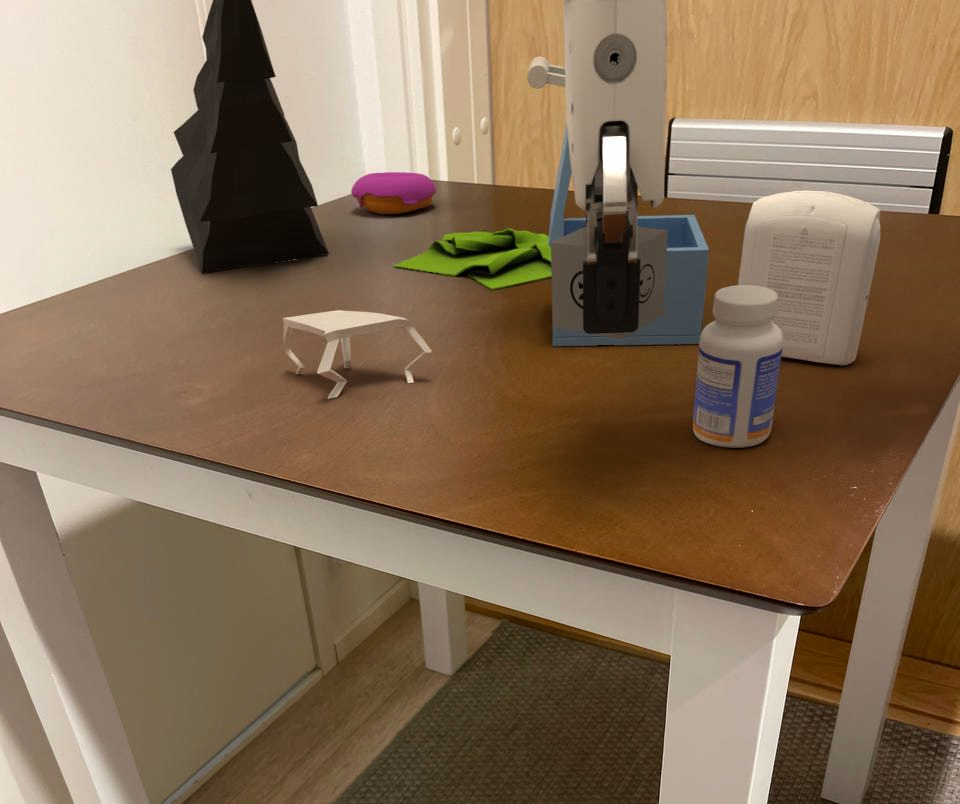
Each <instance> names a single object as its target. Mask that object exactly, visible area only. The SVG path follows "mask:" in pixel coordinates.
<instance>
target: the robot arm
mask: <svg viewBox="0 0 960 804" xmlns="http://www.w3.org/2000/svg"><path fill="white" fill-rule="evenodd" d="M667 7H668V6H667V0H563V32H564V33H563V36H564V37H563V39H564V67H565V86H566V87H565V109H566V123H567V128H568V142H569V154H570V163H571V172H572V173H571V179H572V180H571V181H572V186H573V193H574V202H575V205H576V207H578V208H579V209H580V210H582V211H584V212H585V218H586V224H587V261H583V330H584V331H585V332H586V333H588V334H600V333H626V332H634V331H636V330H637V328H638V324H639V293H640V263H641V261H640V259H637V224H638V216H639V215H638V214H639V213H638V210H639V203H638V202H639V200H638V197H639V195H640V197H641V201H642V202H649V203H650V207H651V208H653V209H655V208H658V207H659V206H660V205H662V203H663V201H664V200H665V158H666V123H667V121H666V120H667V118H666V117H667V92H668V91H667V90H668V89H667V88H668V9H667ZM638 192H639V193H638ZM638 194H639V195H638ZM597 222H598V224H597ZM583 227H586V226H582V228H583Z"/></svg>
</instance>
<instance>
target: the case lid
mask: <svg viewBox="0 0 960 804" xmlns="http://www.w3.org/2000/svg"><path fill="white" fill-rule="evenodd" d="M526 79H527V83H528V85H529V86H530V87H531V88H533V89H537V90H539V89H542V88H543V87H545V85H546V84H547V85H554V86H559V87H563V88H566V86H565V66H558V65H554V64H550V62H549V60H548V59H547V58H546V57H545V56H542V55H540V56H535V57H534V58H533V59H532V60H531V62H530V64H529V68H528V70H527V73H526ZM565 123H566V124H565V129H564V134H563V141H562V146H561V152H560V158H559V164H558V169H557V174H556V179H555V186H554V191H553V196H552V197H553V198H552V203H551V209H550V215H549V217H550V218H549V230H548V236H549V241H548V246H549V247H551V242H553V241H555V240H557V239H559V238H560V233H561V227H562V222H563V218H564V216H565V211H566V206H567V205H566V204H567V200H568V194H569V188H570V183H571V179H572V172H571V163H570V154H569V142H568V128H567V122H565Z"/></svg>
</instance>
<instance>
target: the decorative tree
mask: <svg viewBox="0 0 960 804" xmlns="http://www.w3.org/2000/svg"><path fill="white" fill-rule="evenodd" d="M201 38H202V41H203V45H204V47H205V59H206V60H205V61H204V64H203V65H202V67H201V69H200V70H199V72H198V73H197V75H196V78H195V81H194V85H193V90H192V91H193V95H194V101H195V104H196V108H197V110H196V111H195V112H194V113H193V114H192V115H191V116H190V117H189V118H188V119H186V120H185V121H184V123H182V124H181V125H180V126H179V127H177V128H176V129H175V130H174V131H173V134H174V138H175V140H176V142H177V144H178V147H179V150H180V151H181V155H182V156H181V157H180V159H178V160H177V161H176V163H175V164H174V165H173V166H172V167H171V169H170V173H171V177H172V180H173V185H174V190H175V194H176V197H177V201H178V204H179V207H180V210H181V214H182V217H183V220H184V223H185V227H186V229H187V233H188V236H189V239H190V242H191V245H192V247H193V251H194V254H195V257H196V260H197V263H198V265H199V269H200V272H201V275H205V274H210V273H214V272H218V271H224V270H228V269H233V268H234V269H236V268H245V267H255V266H262V265H271V264H277V263H276V262H280V263H283V262H282V261H287V262H289V261H288V260H293V259H300V260H303V259H302V258H305V259H309V258H315V257H321V256H324V255H329V254H330V252H329V249H328V247H327V245H326V242H325V240H324V239H325V238H324V237H323V234H322V232H321V229H320V227H319V225H318V221H317V219H316V217H315V214H314V212H313V209H312V208H314V207H319V205H318V200H317V198H316V194H315V190H314V187H313V185H312V183H311V181H310V178H309V176H308V174H307V172H306V169H305V167H304V166H303V164H302V161H301V160H300V154H299V148H298V142H297V140H296V138H295V135H294V134H293V131H292V129H291V127H290V125H289V123H288V121H287V119H286V117H285V112H284V109H283V107H282V104H281V102H280V99H279V97H278V94H277V92H276V89H275V86H274V84H273V81H272V78H276V77H277V76H276V73H275V70H274V67H273V64H272V60H271V57H270V53H269V50H268V46H267V44H266V41H265V37H264V34H263V31H262V27H261V24H260V22H259V18H258V16H257V13H256V10H255V7H254V4H253V1H252V0H212V2H211V5H210V8H209V11H208V15H207V18H206V21H205V25H204V29H203V33H202V36H201ZM204 273H205V274H204Z"/></svg>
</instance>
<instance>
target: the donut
mask: <svg viewBox="0 0 960 804" xmlns="http://www.w3.org/2000/svg"><path fill="white" fill-rule="evenodd" d="M350 192H351V196H352V198H355V199H356V200H357V203H358V205H359V207H360V208H363V209H365V210H367V211H369V212H372V213H375V214H379V215H385V214H397V215H399V214H398V213H404V214H406V213H405V212H408V213H410V212H409V211H412V212H415V211H418V210H417V209H419V210H421V209H420V208H422V209H425V208H424V207H426V208H428V207H429V206H431V205H432V203H433V196H434V194H436V193H437V189H436V186H435V183H434V181H433V180H432V179H431V178H430V177H429V176H427V175H425V174H422V173H417V172H407V171H406V172H405V171H404V172H403V171H401V172H399V171H393V172H392V171H388V172H386V171H385V172H372V173H368V174H365V175H363V176H361V177H359V178H358V179H357V180H356V181H355V182H354V184H353V185H352V188H351V191H350ZM427 206H428V207H427ZM414 210H415V211H414Z"/></svg>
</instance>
